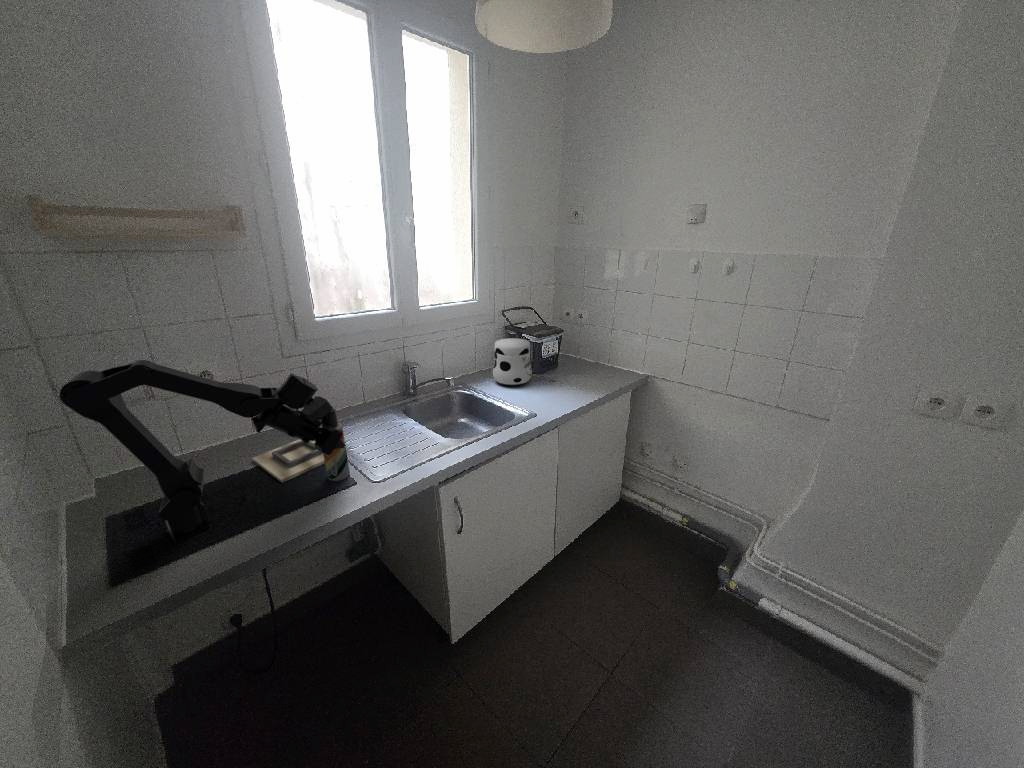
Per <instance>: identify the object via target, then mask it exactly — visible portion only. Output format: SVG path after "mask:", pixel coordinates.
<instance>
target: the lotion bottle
mask: <svg viewBox="0 0 1024 768" xmlns="http://www.w3.org/2000/svg"><path fill="white" fill-rule="evenodd" d="M338 419H339V418H338V415H337V410H336V409H335V408H333V410H332V411H331V412H329V413H328V414H327V415H326V416H324V417H323V418H322V419H321V420H320V421H321V422H322V424H321V425H320V426H319V427H320V428H322V429H324V428H325V427H327V426H331V427H333V428H335V429H337V430H339V431H341V432H342V437H341V438H340V440H341V441H342V442H343V443H345V447H344V448H340V449H334V450H333V452H332V453H331V454H330V455H327V454H324V453H323V455H324V460H325V463H324V465H325V470H326V475H327V478H328V480H330V481H331V482H339V480H340V481H342V480H346V477H347V478H348V477H349V476H350V473H351V472H350V465H349V458H348V457H349V456H348V452H347V451H348V450H347V445H346V441H345V435H344V428H343V425H342V423H340V422H339V420H338ZM319 433H321V432H319Z"/></svg>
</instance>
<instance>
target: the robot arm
mask: <svg viewBox="0 0 1024 768" xmlns="http://www.w3.org/2000/svg"><path fill="white" fill-rule="evenodd" d="M141 386H147V387H152V388H156V389H159V390H163V391H167V392H171V393H175V394H179V395H183V396H186V397H190V398H194V399H198V400H203V401H207V402H211V403H213V404H215V405H218V406H219V407H220V408H222V409H224V410H226V411H227V412H229V413H233V414H235V415H237V416H240V417H242V418H246V419H247V418H248V419H249V418H250V419H251V421H252V425H253V427H254V430H255V431H256V433H258V434H259V433H261V431H262V430H263V429H265V427H270V428H271V429H273V430H275V431H279V432H282V433H283V434H286V435H287V436H289V437H291V438H296V439H297V440H299V439H301V440H302V441H304V442H306V443H309V441H316V442H315V443H314V445H315V449H317V450H319V451H320V452H322V453H324V454H327V455H330V454H331V453H332V452H333V450H334V449H340V448H344V447H345V445H346V442H345V443H343V442H342V441H341V440H340V438H341V437H342V432H341V431H339V430H337V429H335V428H333V427H331V426H327V427H325V428H324V429H322V428H320V427H321V426H322V422H321V419H322V418H323V417H324V416H326V415H327V414H328V413H329V412H331V411H332V410H333V409H334V407H333V406H332V404H331V403H330V402H329V401H328V400H327V399H326V398H324V397H323V396H320V395H318V396H316V395H315V394H316V393H317V392H318V391H319V389H318V387H317V386H316V385H315V384H314V383H313V382H311V381H309V380H308V379H307V378H305V377H301V376H299V375H296V374H294V373H291V372H290V374H289V375H288V376H287V378H286V380H285V381H284V382H283V383H282V384H281V386H280V387H259V386H257V385H255V384H254V385H253V384H248V383H247V384H246V383H242V382H241V383H240V382H221V381H217V380H213V379H210V378H207V377H203V376H199V375H196V374H193V373H189V372H185V371H182V370H178V369H174V368H171V367H167V366H165V365H161V364H157V363H154V362H152V361H150V360H148V359H147V360H146V359H141V360H137V361H135V362H132V363H129V364H123V365H118V366H115V367H114V366H113V367H109V368H108V369H107V368H106V369H104V370H101V371H97V370H86V371H81V372H79V373H77V374H76V375H74V376H73V377H72V378H71V379H69V381H67V382H66V383H64V385H63V386H62V387H61V388H60V391H59V395H58V397H59V399H60V401H61V403H63V405H65V406H66V407H67V408H68V409H70V410H71V411H73V412H75V413H76V414H78V415H79V416H81V417H83V418H85V419H88V420H91V421H93V422H96V423H99V425H101V426H103V427H104V429H106V430H107V431H108V432H109V434H112V436H113V437H114V438H115V439H116V440H118V441H119V443H121V445H123V446H124V447H125V448H126V449H127V450H128V451H129V452H130V453H131V454H132V455H133V456H134V457H135V458H136V459H137V460H138V461H140V462H141V464H143V465H144V466H145V467H146V468H147V469H148V470H149V471H150V472H151V473H152V474H154V476H155V478H156V480H157V483H158V485H159V487H160V488H159V489H160V490H161V492H162V493H163V497H162V501H161V505H160V508H159V511H158V515H157V516H159V517H160V518H161V519H162V520H164V522H165V524H166V526H167V528H166V531H167V533H168V534H169V535H170V536H171V538H172V539H173V541H174V542H175V543H178V542H181V541H183V540H185V539H187V538H189V537H191V536H193V535H195V534H198V533H200V532H201V531H203V530H206V529H207V528H209V527H211V523H210V522H209V520H210V516H209V514H208V513H209V512H208V510H207V508H206V506H205V504H204V502H202V501H201V500H200V498H201V497H202V494H203V489H204V488H203V487H204V482H205V475H204V470H205V469H204V468H201V467H200V466H198V465H197V464H196V462H195V460H194V459H193V458H190V459H188V460H187V461H183V460H182V459H178V458H177V457H176V456H175V455H174V454H172V452H171V451H170V450H169V449H168V448H167V447H166V446H165V445H164V444H163V443H162V442H161V441H159V439H158V438H157V437H156V436H155V435H154V434H153V433H152V431H150V430H149V429H148V428H147V427H146V426H145V424H143V423H142V422H141V421H140V420H139V419H138V418H137V417H136V416H135V415H134V414H133V413H132V412H131V411H130V409H128V407H127V405H126V403H125V400H124V399H123V396H122V394H123V393H126V392H128V391H130V390H133V389H134V388H137V387H141ZM313 396H314V397H313ZM299 409H301V410H299ZM319 432H321V433H319Z"/></svg>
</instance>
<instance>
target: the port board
mask: <svg viewBox="0 0 1024 768" xmlns="http://www.w3.org/2000/svg"><path fill="white" fill-rule="evenodd" d="M315 442H316V441H309V443H306V442H304V441H302V440H301V439H297V440H295V441H292V442H289V443H287V444H285V445H282V446H279V447H277V448H275V449H272V450H269V451H266V452H264V453H261V454H259V455H257V456H253V457H251V459H252V460H251V461H252V462H253V463H255V464H256V465H258V466H259V467H260V468H262V469H263V470H264V471H265V472H267V473H268V474H270V475H271V476H273V477H274V478H275V479H277V480H278V481H279V482H281V483H282V484H283V483H286V482H287V481H290V480H292V479H294V478H296V477H299V476H301V475H302V474H305V473H308V472H309V471H311V470H313V469H315V468H319V466H322V465H325V460H324V455H323V453H322V452H320V451H319V450H317V449H315V445H314V443H315Z"/></svg>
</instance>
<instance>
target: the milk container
mask: <svg viewBox="0 0 1024 768" xmlns="http://www.w3.org/2000/svg"><path fill="white" fill-rule="evenodd" d="M493 348H494V350H493V351H494V352H493V353H494V363H493V366H492V376H493V379H494V381H495V382H496V383H498V384H499V385H502V386H510V387H512V386H516V387H517V386H522V385H525V384H528V383H529V382H530V381H531V378H532V376H533V375H532V374H533V370H532V369H533V368H532V364H531V343H530V341H529V340H528V339H527V340H526V339H523V338H514V337H513V338H512V337H510V338H501V339H497V340H495V342H494V347H493Z"/></svg>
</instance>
